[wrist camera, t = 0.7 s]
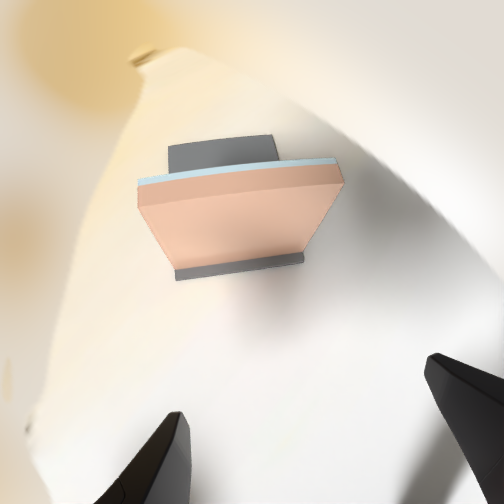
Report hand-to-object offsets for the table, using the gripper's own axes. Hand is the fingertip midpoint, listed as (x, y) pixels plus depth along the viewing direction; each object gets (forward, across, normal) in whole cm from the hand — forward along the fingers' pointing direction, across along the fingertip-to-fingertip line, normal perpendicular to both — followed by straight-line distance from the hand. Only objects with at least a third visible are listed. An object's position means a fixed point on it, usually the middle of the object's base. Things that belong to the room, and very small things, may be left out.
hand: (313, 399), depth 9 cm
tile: (+15, +2, -1) cm, 15 cm away
